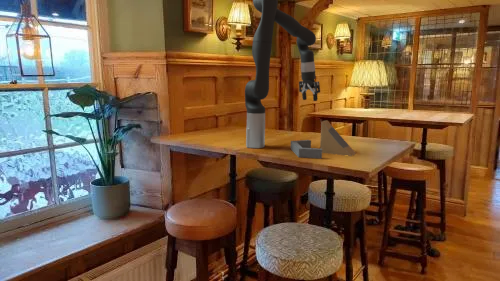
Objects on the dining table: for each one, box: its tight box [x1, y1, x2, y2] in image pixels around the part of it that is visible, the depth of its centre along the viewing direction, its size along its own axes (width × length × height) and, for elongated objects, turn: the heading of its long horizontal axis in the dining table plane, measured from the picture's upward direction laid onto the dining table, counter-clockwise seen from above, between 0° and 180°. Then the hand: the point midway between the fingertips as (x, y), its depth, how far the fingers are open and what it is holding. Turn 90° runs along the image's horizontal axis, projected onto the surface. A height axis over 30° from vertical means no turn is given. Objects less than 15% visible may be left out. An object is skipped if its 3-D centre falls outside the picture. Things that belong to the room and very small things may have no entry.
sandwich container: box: [319, 119, 356, 157], centre depth 169 cm, size 9×15×15 cm, turn 61°
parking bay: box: [290, 139, 323, 159], centre depth 169 cm, size 10×24×4 cm, turn 5°
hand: (310, 100), depth 198 cm, fingers open, 8 cm apart
